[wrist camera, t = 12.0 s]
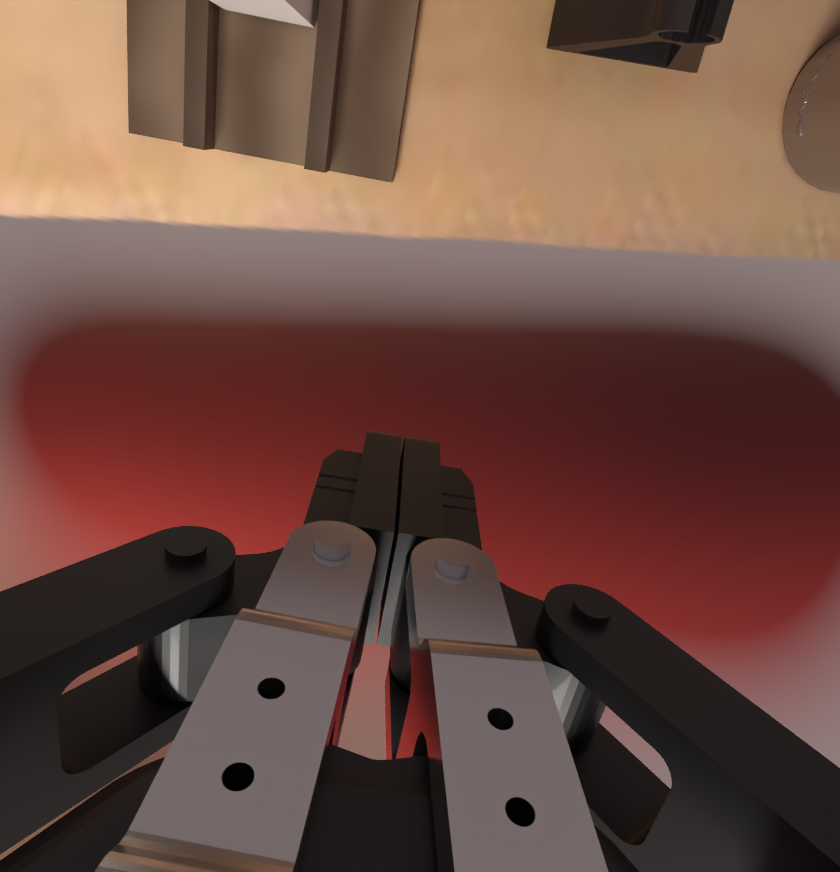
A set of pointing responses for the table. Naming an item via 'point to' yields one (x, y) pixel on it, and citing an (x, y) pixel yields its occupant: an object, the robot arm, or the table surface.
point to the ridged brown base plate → (274, 81)
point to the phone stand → (640, 30)
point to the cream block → (275, 9)
